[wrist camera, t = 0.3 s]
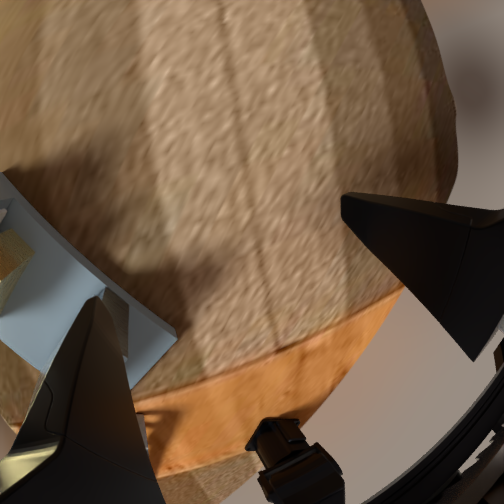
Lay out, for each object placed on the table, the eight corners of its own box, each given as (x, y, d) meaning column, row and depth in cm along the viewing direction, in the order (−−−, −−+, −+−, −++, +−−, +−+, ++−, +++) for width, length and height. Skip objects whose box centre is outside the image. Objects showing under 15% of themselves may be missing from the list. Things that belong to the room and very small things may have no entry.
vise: (174, 328, 26) (196, 397, 17) (108, 401, 25) (109, 473, 16) (1, 172, 17) (-62, 173, 8) (-49, 272, 16) (-102, 311, 7)
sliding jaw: (129, 304, 22) (128, 358, 15) (63, 388, 21) (52, 447, 14) (102, 283, 21) (87, 330, 14) (39, 372, 20) (20, 428, 13)
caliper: (134, 410, 27) (138, 451, 21) (143, 410, 27) (149, 451, 22) (139, 491, 30) (145, 522, 25) (145, 491, 31) (152, 522, 25)
